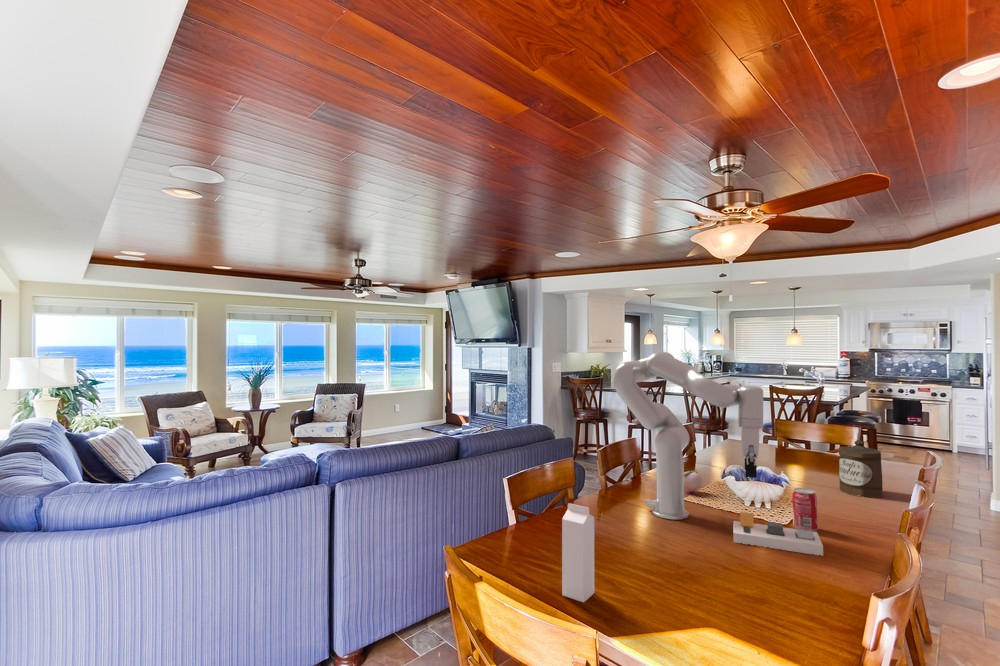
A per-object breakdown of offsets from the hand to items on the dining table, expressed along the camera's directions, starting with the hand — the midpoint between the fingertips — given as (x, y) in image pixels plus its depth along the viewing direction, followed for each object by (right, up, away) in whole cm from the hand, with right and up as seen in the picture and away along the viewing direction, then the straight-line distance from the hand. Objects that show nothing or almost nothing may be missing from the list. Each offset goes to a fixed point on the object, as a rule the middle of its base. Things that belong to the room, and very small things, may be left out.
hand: (750, 473), depth 168 cm
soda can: (+19, -19, 0) cm, 27 cm away
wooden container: (+69, -20, +43) cm, 83 cm away
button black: (+2, -17, -11) cm, 20 cm away
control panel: (+2, -19, -11) cm, 22 cm away
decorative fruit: (-4, -20, +42) cm, 46 cm away
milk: (-65, -18, -44) cm, 81 cm away
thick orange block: (-4, -19, -6) cm, 20 cm away
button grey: (+10, -16, -14) cm, 24 cm away
